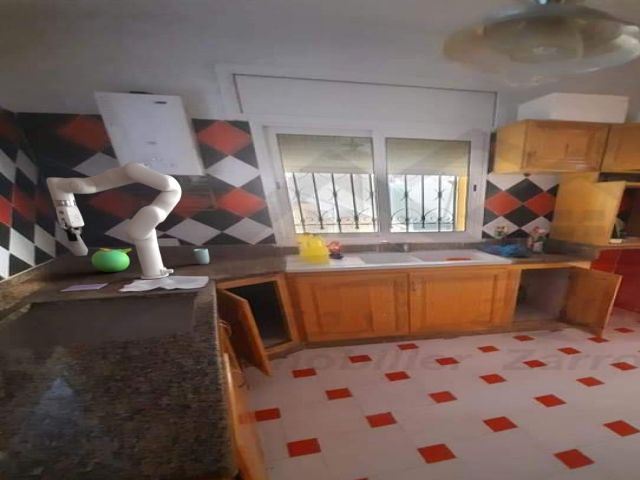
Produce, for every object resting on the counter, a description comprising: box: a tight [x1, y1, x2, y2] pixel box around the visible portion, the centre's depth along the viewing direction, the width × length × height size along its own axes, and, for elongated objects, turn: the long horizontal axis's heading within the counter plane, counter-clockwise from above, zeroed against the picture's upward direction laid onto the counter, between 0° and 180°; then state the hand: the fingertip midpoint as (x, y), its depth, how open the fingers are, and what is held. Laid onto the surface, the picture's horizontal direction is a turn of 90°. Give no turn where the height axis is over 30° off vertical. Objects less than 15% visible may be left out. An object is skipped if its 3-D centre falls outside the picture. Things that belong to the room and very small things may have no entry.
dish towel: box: [59, 282, 109, 293], centre depth 160 cm, size 14×10×1 cm
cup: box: [193, 248, 210, 266], centre depth 212 cm, size 8×8×10 cm
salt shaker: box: [70, 230, 89, 257], centre depth 163 cm, size 6×6×13 cm
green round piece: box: [91, 247, 132, 273], centre depth 190 cm, size 18×17×15 cm
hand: (76, 240), depth 163 cm, fingers closed on salt shaker, 4 cm apart
